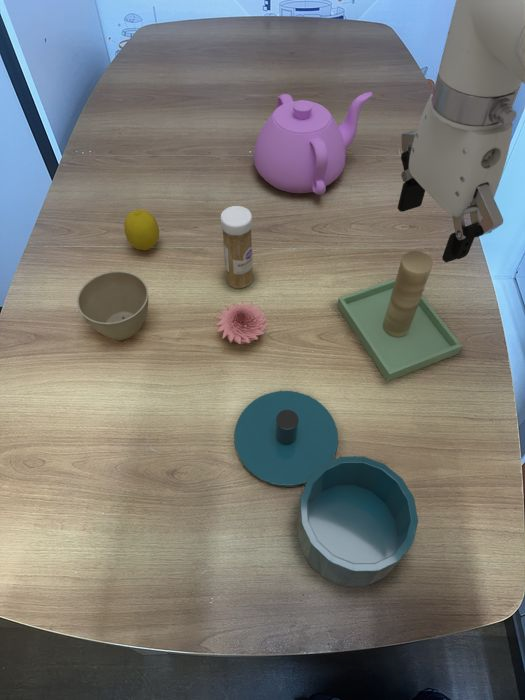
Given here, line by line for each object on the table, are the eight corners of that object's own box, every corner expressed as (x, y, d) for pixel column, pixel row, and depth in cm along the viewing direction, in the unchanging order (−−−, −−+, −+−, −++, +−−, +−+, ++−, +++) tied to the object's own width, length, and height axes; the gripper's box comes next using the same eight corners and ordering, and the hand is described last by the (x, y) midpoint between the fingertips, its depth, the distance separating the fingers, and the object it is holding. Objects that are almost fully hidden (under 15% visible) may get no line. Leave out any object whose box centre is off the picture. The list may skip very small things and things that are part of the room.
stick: (414, 332, 81) (438, 267, 70) (391, 341, 80) (412, 276, 69) (400, 313, 83) (421, 247, 72) (377, 321, 82) (395, 256, 71)
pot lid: (355, 464, 70) (362, 445, 65) (258, 505, 67) (258, 488, 62) (309, 381, 77) (312, 359, 72) (220, 415, 74) (217, 394, 69)
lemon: (152, 263, 90) (144, 226, 84) (124, 254, 91) (113, 218, 85) (168, 241, 93) (160, 204, 87) (140, 233, 94) (130, 196, 88)
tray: (458, 353, 80) (462, 345, 78) (386, 381, 77) (389, 374, 75) (403, 282, 88) (406, 274, 86) (336, 306, 85) (338, 297, 83)
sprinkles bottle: (247, 292, 86) (245, 229, 75) (221, 285, 87) (215, 221, 76) (257, 272, 89) (256, 208, 78) (231, 265, 90) (227, 201, 79)
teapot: (386, 191, 101) (401, 123, 89) (277, 219, 96) (279, 151, 85) (337, 127, 112) (345, 59, 101) (238, 149, 108) (235, 81, 97)
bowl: (139, 360, 79) (129, 331, 73) (78, 344, 81) (63, 314, 75) (166, 309, 85) (158, 278, 79) (108, 295, 86) (96, 264, 80)
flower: (272, 354, 80) (273, 331, 75) (218, 361, 79) (215, 339, 74) (264, 313, 84) (264, 289, 79) (213, 319, 83) (210, 295, 79)
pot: (423, 559, 63) (440, 541, 57) (326, 605, 60) (333, 592, 54) (369, 465, 70) (379, 440, 63) (280, 503, 67) (281, 481, 61)
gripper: (567, 133, 48) (501, 269, 62) (453, 47, 57) (417, 182, 71) (498, 154, 46) (445, 289, 60) (392, 62, 56) (368, 198, 69)
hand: (430, 231), depth 66 cm, fingers open, 9 cm apart
